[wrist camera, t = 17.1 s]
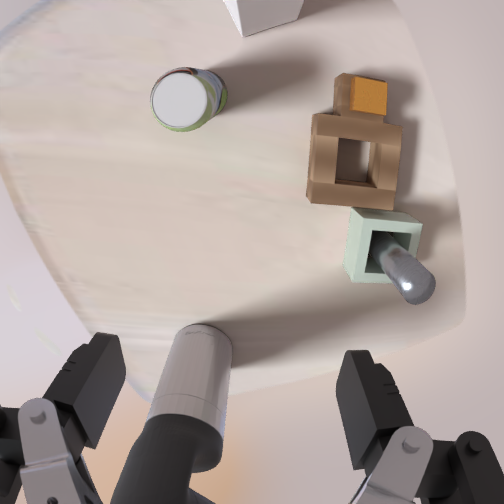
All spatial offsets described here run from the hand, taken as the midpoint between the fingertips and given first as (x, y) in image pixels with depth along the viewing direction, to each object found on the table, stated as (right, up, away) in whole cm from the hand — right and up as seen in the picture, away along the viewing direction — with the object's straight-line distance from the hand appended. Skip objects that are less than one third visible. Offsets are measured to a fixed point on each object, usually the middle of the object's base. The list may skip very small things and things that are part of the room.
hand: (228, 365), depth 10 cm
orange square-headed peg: (+13, +22, +23) cm, 34 cm away
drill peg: (+17, +6, +30) cm, 35 cm away
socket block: (+13, +17, +25) cm, 33 cm away
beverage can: (-5, +22, +24) cm, 33 cm away
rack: (+17, +6, +30) cm, 35 cm away
